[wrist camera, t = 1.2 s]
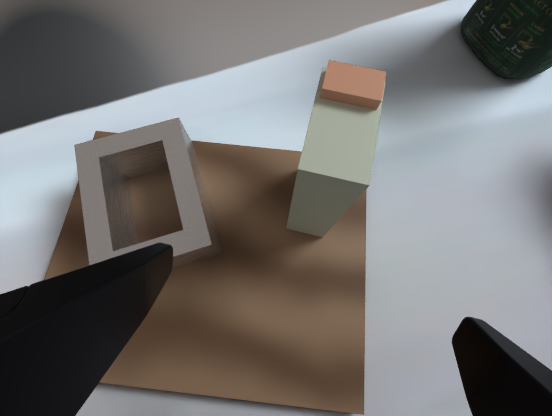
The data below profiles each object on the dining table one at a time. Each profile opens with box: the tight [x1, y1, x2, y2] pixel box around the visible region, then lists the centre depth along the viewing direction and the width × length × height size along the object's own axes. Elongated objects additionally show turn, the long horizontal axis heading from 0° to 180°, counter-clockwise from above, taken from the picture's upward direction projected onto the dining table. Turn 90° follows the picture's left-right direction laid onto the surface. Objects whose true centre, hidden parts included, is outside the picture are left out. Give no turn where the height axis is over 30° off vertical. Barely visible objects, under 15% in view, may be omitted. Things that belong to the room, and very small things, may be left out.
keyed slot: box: [74, 118, 222, 269], centre depth 20 cm, size 10×8×4 cm
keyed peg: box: [286, 60, 386, 237], centre depth 17 cm, size 5×3×12 cm, turn 166°
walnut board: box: [44, 131, 366, 415], centre depth 22 cm, size 19×24×1 cm
